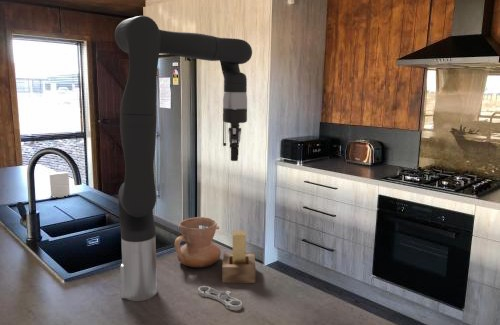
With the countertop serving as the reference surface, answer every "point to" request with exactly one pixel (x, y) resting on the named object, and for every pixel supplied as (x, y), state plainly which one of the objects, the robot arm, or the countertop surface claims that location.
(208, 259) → the ceramic jug
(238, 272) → the walnut block
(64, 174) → the white rectangular block
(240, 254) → the tan wooden square peg
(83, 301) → the countertop surface
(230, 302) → the bracket
